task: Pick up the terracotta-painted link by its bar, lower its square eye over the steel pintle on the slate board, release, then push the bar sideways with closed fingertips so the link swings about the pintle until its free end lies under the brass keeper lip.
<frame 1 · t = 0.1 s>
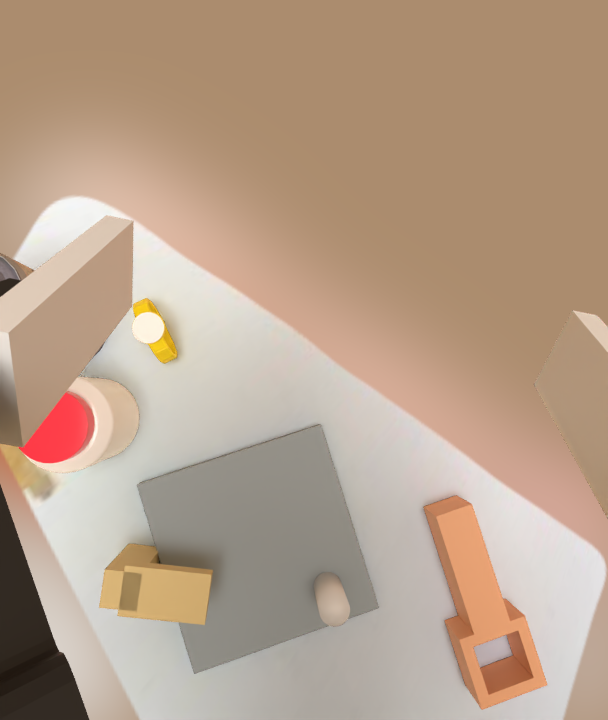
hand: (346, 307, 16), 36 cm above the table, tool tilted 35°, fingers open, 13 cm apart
link: (439, 501, 52), on the table
aerosol can: (72, 329, 50), on the table
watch: (162, 334, 51), on the table
pill bottle: (99, 418, 50), on the table
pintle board: (259, 543, 50), on the table
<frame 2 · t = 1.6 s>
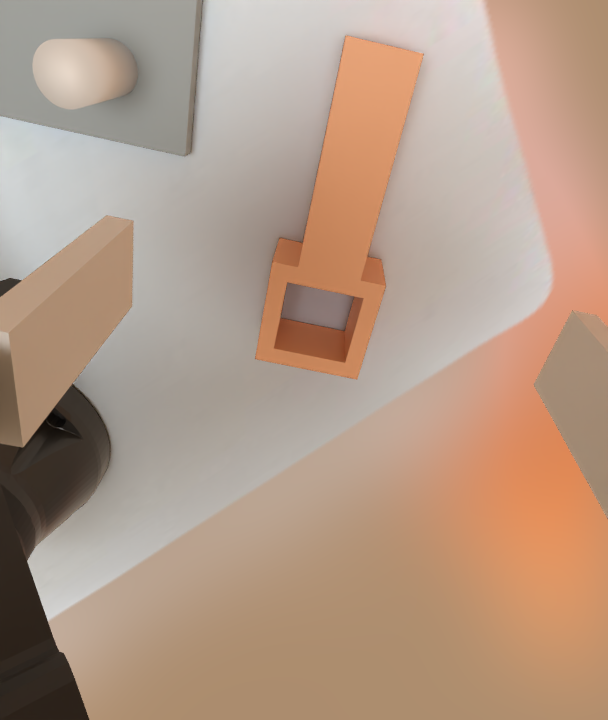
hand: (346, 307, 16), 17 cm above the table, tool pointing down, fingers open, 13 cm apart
link: (379, 43, 26), on the table
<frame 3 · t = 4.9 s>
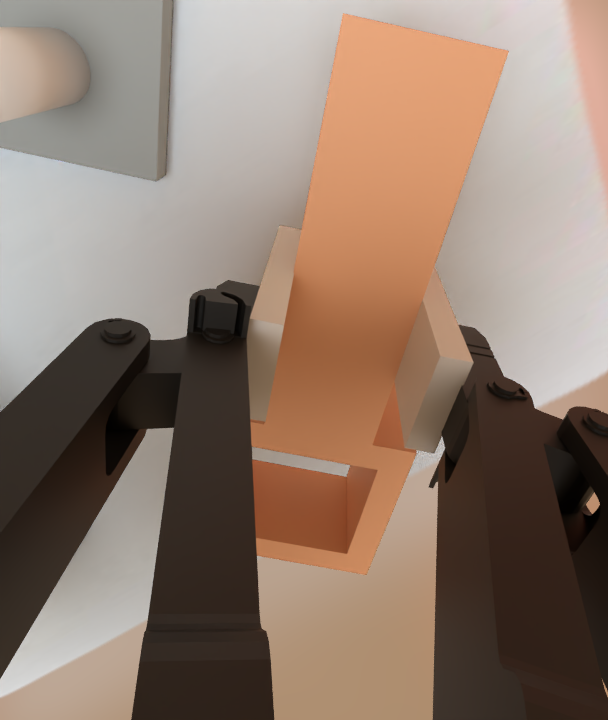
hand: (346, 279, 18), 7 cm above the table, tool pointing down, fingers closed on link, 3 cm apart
link: (406, 32, 14), point 6 cm above the table, touching gripper
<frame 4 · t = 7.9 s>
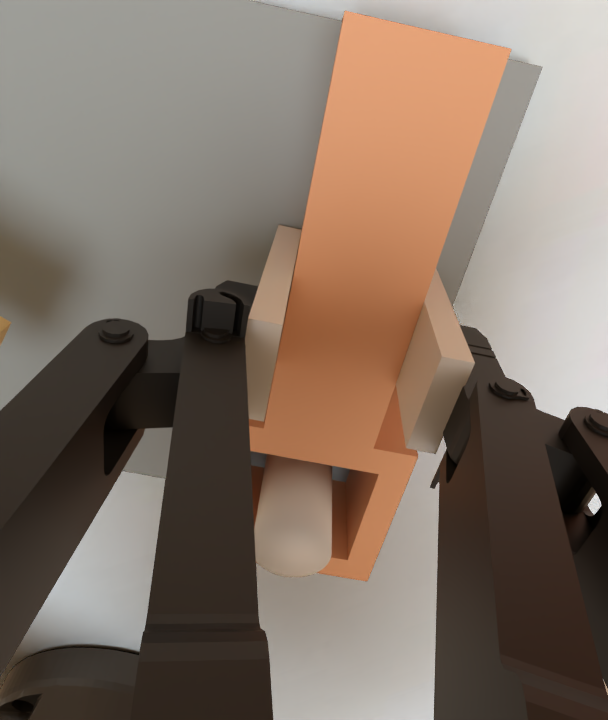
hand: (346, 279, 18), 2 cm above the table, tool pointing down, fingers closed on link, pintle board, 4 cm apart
link: (406, 32, 14), point 1 cm above the table, touching gripper, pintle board
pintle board: (198, 284, 20), on the table
when the fingers open (1 cm above the table, at t = 8.5 s): link stays where it is, resting on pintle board.
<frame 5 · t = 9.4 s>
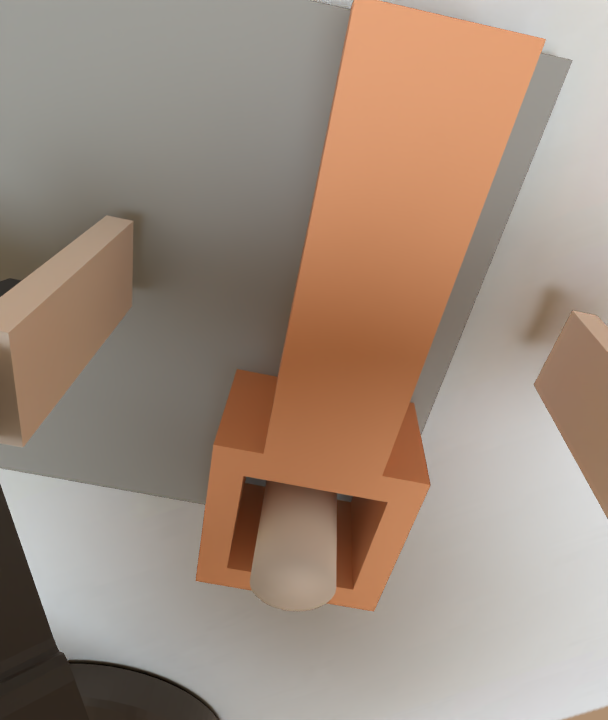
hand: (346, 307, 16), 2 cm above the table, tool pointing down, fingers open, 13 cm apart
link: (421, 22, 13), point 1 cm above the table, touching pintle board
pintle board: (194, 294, 18), on the table
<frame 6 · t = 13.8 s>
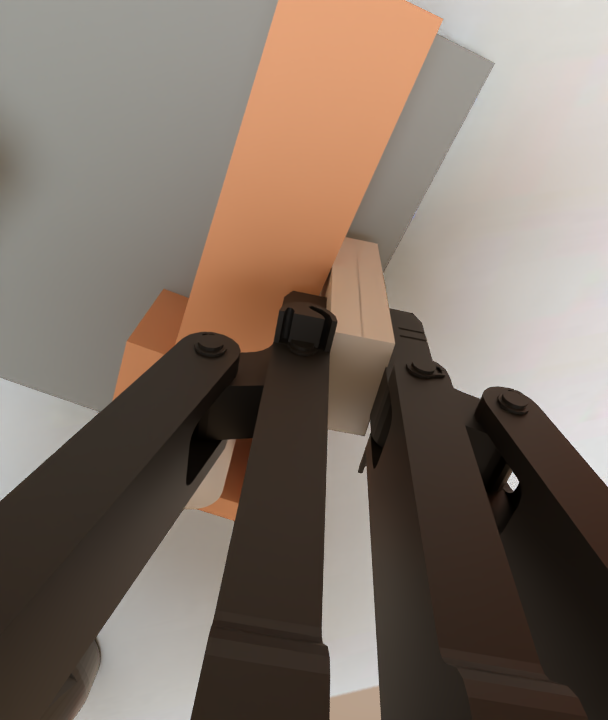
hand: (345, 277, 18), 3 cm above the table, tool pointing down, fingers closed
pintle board: (140, 211, 19), on the table
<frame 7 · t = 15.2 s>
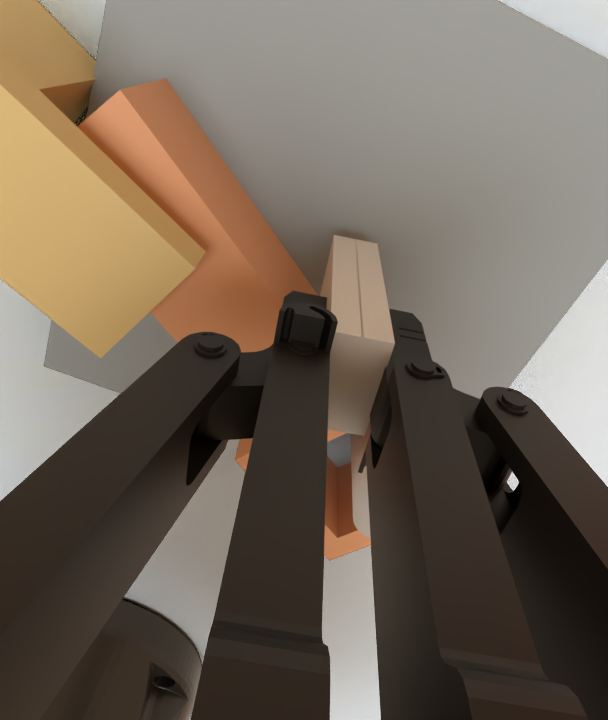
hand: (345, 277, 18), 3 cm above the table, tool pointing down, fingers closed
link: (125, 112, 17), point 1 cm above the table, touching gripper
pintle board: (325, 250, 20), on the table
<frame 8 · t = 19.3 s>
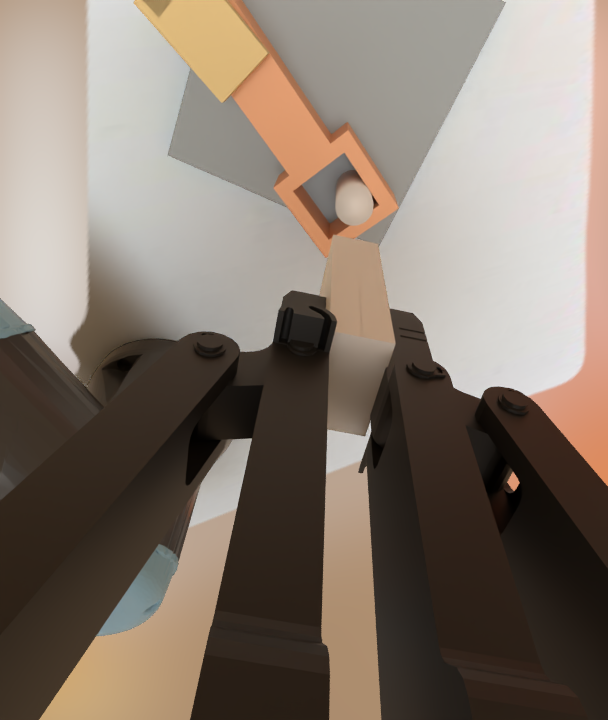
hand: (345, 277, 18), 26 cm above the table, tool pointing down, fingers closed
link: (214, 8, 35), point 1 cm above the table, touching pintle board
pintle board: (323, 84, 38), on the table
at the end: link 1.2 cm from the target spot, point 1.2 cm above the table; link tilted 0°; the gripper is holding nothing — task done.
